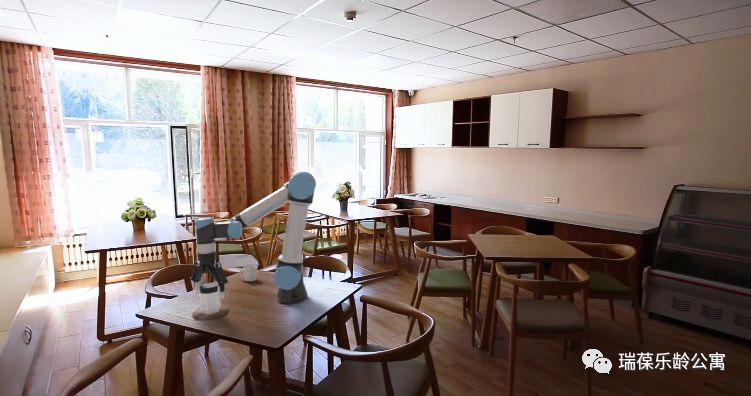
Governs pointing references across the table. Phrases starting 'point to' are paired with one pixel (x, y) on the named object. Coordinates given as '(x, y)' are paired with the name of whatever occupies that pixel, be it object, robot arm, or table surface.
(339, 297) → the table surface
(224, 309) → the disc
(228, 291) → the table surface
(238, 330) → the table surface
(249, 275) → the cup
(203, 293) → the jar
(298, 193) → the robot arm
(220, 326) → the table surface
